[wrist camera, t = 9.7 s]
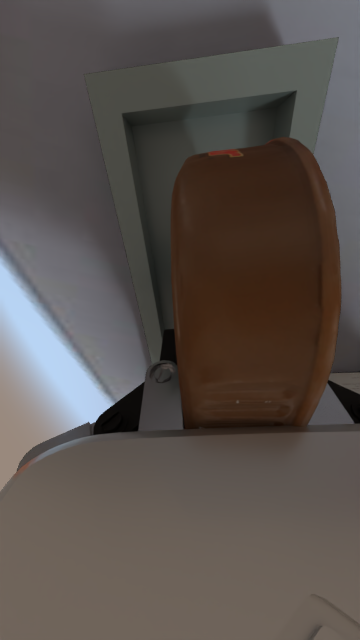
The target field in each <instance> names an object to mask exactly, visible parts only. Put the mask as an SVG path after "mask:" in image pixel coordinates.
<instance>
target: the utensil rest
mask: <svg viewBox="0 0 360 640" xmlns="http://www.w3.org/2000/svg"><path fill="white" fill-rule="evenodd" d="M338 39H339V37H337V38H330V39H324V40H317V41H310V42H303V43H296V44H289V45H282V46H275V47H268V48H262V49H255V50H248V51H241V52H234V53H227V54H220V55H213V56H206V57H200V58H193V59H186V60H179V61H172V62H165V63H158V64H151V65H144V66H137V67H131V68H124V69H117V70H110V71H103V72H96V73H89V74H84V77H85V81H86V85H87V90H88V94H89V98H90V102H91V107H92V111H93V115H94V119H95V124H96V128H97V132H98V137H99V141H100V145H101V149H102V154H103V158H104V162H105V166H106V171H107V175H108V179H109V183H110V188H111V192H112V196H113V200H114V205H115V209H116V213H117V217H118V222H119V226H120V230H121V234H122V239H123V243H124V247H125V251H126V256H127V260H128V264H129V268H130V273H131V277H132V281H133V285H134V290H135V294H136V298H137V302H138V307H139V311H140V315H141V319H142V324H143V328H144V332H145V336H146V341H147V345H148V349H149V353H150V358H151V362H152V364H153V363H156V362H158V361H160V354H161V347H162V340H163V333H164V329H174V319H173V300H172V285H171V200H172V192H173V187H174V183H175V179H176V177H177V175H178V173H179V171H180V169H181V167H182V166H183V164H184V162H185V160H186V159H187V158H188V157H190V156H192V155H196V154H201V153H207V152H212V151H220V150H229V149H239V148H248V147H254V146H261V145H265V144H266V143H268V142H269V141H271V140H273V139H276V138H280V137H289V138H293V139H296V140H299V141H300V143H302V144H303V145H304V146H305V147H307V148H308V149H309V150H310V151H311V152H312V153H314V149H315V144H316V139H317V135H318V130H319V126H320V121H321V117H322V112H323V107H324V103H325V98H326V94H327V89H328V85H329V80H330V75H331V71H332V66H333V62H334V57H335V52H336V48H337V43H338Z"/></svg>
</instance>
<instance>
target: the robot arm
mask: <svg viewBox="0 0 360 640" xmlns="http://www.w3.org/2000/svg"><path fill="white" fill-rule="evenodd" d="M0 640H360V394H358V393H356V392H354V391H352V390H349V389H347V388H345V387H343V386H341V385H338V384H336V383H334V382H332V381H330V380H328V382H327V385H326V388H325V390H324V392H323V395H322V397H321V399H320V401H319V404H318V406H317V408H316V410H315V412H314V414H313V416H312V418H311V419H310V421H309V423H308V425H307V426H306V427H297V426H264V427H234V428H206V429H185V425H184V417H183V410H182V401H181V395H180V387H179V377H178V366H177V356H176V344H175V332H174V329H164V333H163V340H162V347H161V354H160V361H158V362H156V363H153V364H152V365H151V366H150V367H149V368H148V369H147V372H146V376H145V382H144V383H142V384H141V385H140V386H138V387H137V388H136V389H134V390H133V391H131V392H130V393H129V394H127V395H126V396H125V397H123V398H122V399H121V400H119V401H118V402H117V403H115V404H114V405H113V406H111V407H110V408H109V409H107V410H106V411H105V412H104V413H103V414H101V415H100V416H99V418H98V419H97V421H96V422H95V423H92V424H90V423H89V422H88V423H86V424H84V425H81V426H79V427H77V428H74V429H72V430H70V431H67V432H66V433H63V434H61V435H58V436H56V437H54V438H52V439H49V440H47V441H45V442H43V443H40V444H38V445H37V446H35V447H33V448H32V449H31V450H30V451H29V452H28V453H26V455H25V456H24V457H23V459H22V460H21V461H20V463H19V466H18V468H17V472H16V473H15V474H14V475H13V477H12V478H11V479H10V480H9V481H8V482H7V484H6V485H5V486H4V487H3V489H2V490H1V491H0Z"/></svg>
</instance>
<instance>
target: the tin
mask: <svg viewBox="0 0 360 640" xmlns="http://www.w3.org/2000/svg"><path fill="white" fill-rule="evenodd" d="M171 285H172V300H173V319H174V332H175V344H176V356H177V366H178V377H179V387H180V395H181V401H182V410H183V417H184V425H185V429H206V428H234V427H264V426H297V427H306V426H307V425H308V423H309V421H310V419H311V418H312V416H313V414H314V412H315V410H316V408H317V406H318V404H319V401H320V399H321V397H322V395H323V392H324V390H325V388H326V385H327V382H328V379H329V376H330V373H331V368H332V364H333V361H334V357H335V350H336V342H337V335H338V324H339V318H340V311H341V276H340V251H339V240H338V235H337V228H336V216H335V210H334V207H333V203H332V200H331V196H330V193H329V189H328V186H327V183H326V181H325V179H324V176H323V174H322V172H321V170H320V167H319V165H318V163H317V161H316V159H315V157H314V155H313V153H312V152H311V151H310V150H309V149H308V148H307V147H305V146H304V145H303V144H302V143H300V141H299V140H296V139H293V138H289V137H280V138H276V139H273V140H271V141H269V142H268V143H266V144H265V145H261V146H254V147H248V148H239V149H229V150H220V151H212V152H207V153H201V154H196V155H192V156H190V157H188V158H187V159H186V160H185V162H184V164H183V166H182V167H181V169H180V171H179V173H178V175H177V177H176V179H175V183H174V187H173V192H172V200H171Z"/></svg>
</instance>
